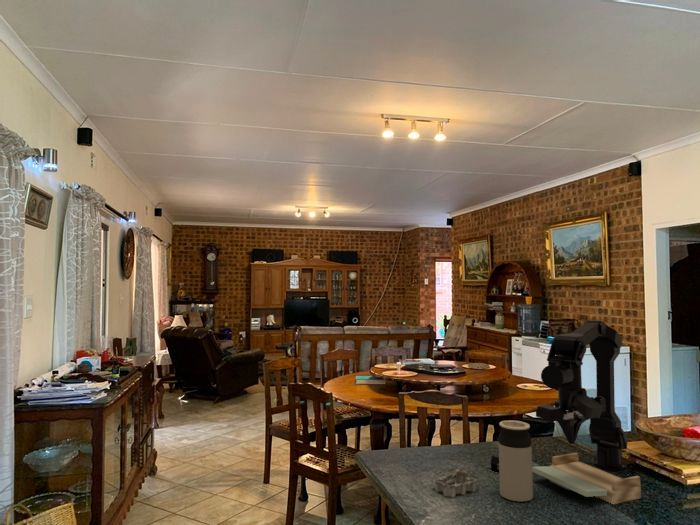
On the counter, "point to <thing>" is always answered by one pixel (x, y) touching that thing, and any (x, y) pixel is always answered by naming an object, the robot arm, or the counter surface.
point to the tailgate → (569, 481)
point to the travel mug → (515, 461)
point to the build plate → (494, 463)
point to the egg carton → (455, 483)
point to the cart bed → (600, 479)
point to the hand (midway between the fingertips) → (571, 443)
